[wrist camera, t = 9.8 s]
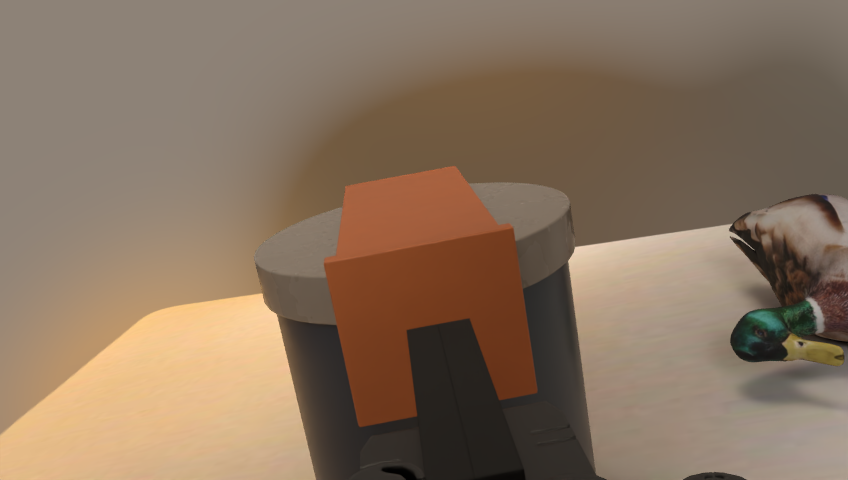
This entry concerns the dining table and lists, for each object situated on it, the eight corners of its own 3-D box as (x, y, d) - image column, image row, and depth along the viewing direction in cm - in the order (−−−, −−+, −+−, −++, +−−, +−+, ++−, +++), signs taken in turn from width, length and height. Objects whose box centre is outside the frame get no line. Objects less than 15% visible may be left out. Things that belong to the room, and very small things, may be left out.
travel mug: (660, 649, 24) (613, 225, 21) (332, 716, 24) (226, 298, 20) (573, 470, 35) (531, 166, 31) (342, 515, 34) (272, 214, 31)
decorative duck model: (796, 303, 32) (586, 232, 46) (810, 450, 35) (606, 342, 48) (1019, 188, 37) (770, 154, 51) (1017, 324, 40) (780, 258, 53)
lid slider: (538, 393, 21) (513, 226, 20) (359, 428, 21) (322, 262, 20) (481, 278, 31) (462, 164, 30) (361, 301, 31) (337, 187, 30)
